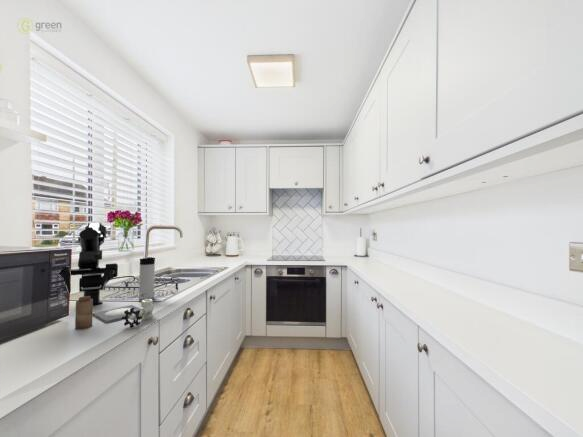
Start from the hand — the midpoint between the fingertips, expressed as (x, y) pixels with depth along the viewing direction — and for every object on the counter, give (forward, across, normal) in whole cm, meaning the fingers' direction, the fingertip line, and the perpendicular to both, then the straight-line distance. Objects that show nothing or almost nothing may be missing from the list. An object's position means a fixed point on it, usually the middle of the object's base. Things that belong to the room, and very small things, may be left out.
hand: (85, 291), depth 95 cm
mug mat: (+4, +10, +11) cm, 16 cm away
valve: (+14, +17, +2) cm, 22 cm away
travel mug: (-8, +21, +24) cm, 33 cm away
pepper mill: (+11, 0, +5) cm, 12 cm away
